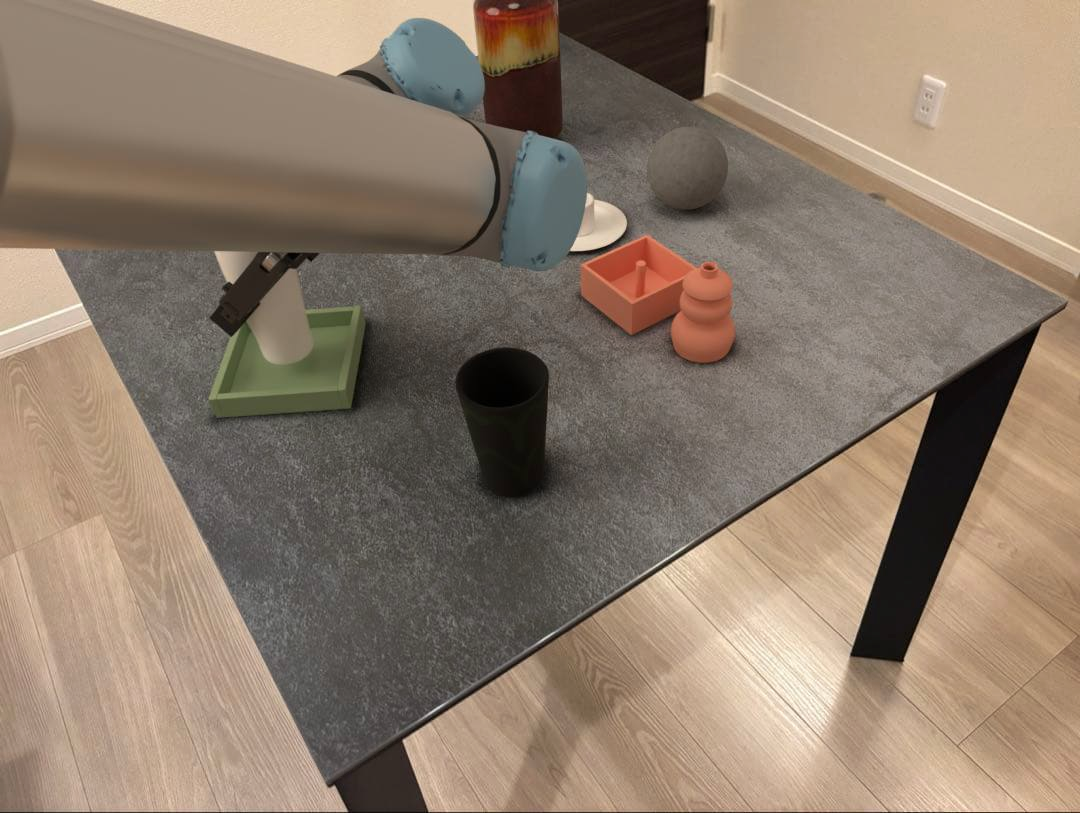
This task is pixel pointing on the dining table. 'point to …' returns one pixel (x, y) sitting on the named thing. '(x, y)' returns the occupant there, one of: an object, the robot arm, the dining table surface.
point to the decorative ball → (687, 168)
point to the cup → (506, 417)
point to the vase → (520, 64)
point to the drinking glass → (274, 312)
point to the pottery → (663, 296)
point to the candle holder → (599, 225)
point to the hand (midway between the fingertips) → (245, 303)
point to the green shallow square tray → (292, 370)
